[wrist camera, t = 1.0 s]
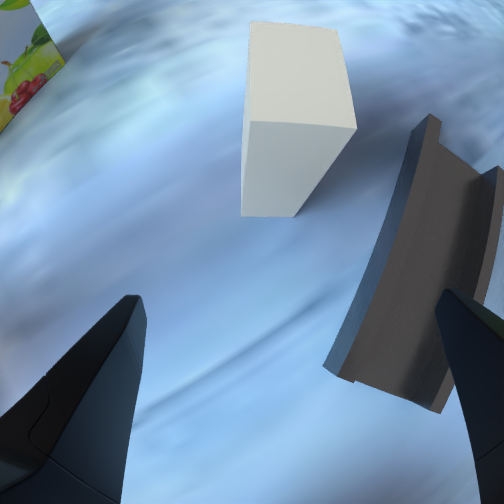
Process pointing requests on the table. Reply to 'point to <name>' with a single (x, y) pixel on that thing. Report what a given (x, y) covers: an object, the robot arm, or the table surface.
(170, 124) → the table surface
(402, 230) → the bottom track
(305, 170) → the cream rectangular block
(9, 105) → the snack box
